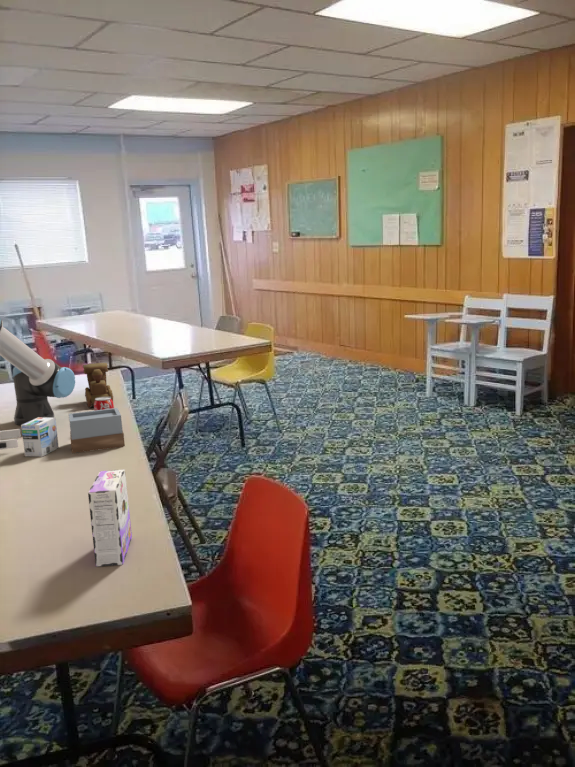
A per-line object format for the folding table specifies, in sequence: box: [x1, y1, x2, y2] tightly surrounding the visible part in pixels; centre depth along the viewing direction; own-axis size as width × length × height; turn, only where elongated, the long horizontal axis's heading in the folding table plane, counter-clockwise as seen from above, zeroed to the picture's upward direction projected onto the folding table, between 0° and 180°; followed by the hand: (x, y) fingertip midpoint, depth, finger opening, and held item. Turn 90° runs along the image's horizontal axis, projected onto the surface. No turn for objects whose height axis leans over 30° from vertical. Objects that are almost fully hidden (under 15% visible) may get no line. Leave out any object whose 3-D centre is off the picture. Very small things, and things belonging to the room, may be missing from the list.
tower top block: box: [68, 407, 124, 440], centre depth 234 cm, size 12×16×6 cm
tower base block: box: [69, 430, 126, 454], centre depth 235 cm, size 13×17×5 cm
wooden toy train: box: [82, 362, 114, 408], centre depth 301 cm, size 20×11×17 cm, turn 19°
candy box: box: [87, 469, 133, 567], centre depth 147 cm, size 14×6×16 cm, turn 5°
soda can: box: [93, 397, 115, 411], centre depth 254 cm, size 7×7×12 cm
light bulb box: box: [20, 417, 59, 458], centre depth 229 cm, size 11×7×11 cm, turn 168°
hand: (19, 437), depth 227 cm, fingers open, 13 cm apart
